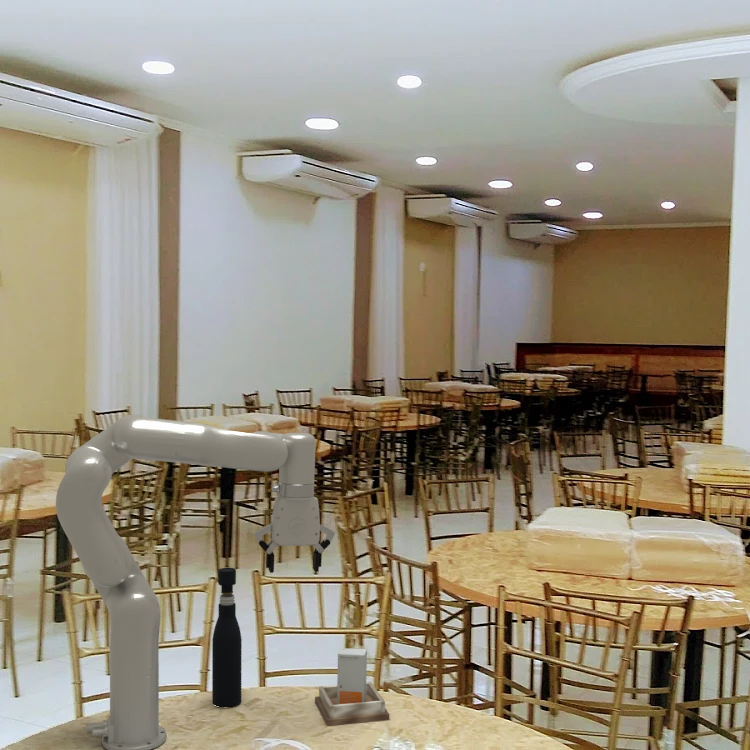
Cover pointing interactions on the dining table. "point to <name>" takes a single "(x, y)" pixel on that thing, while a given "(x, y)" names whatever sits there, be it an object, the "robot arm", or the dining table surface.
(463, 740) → the dining table surface
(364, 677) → the skincare box
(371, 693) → the square brown tray
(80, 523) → the robot arm
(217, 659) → the black water bottle
